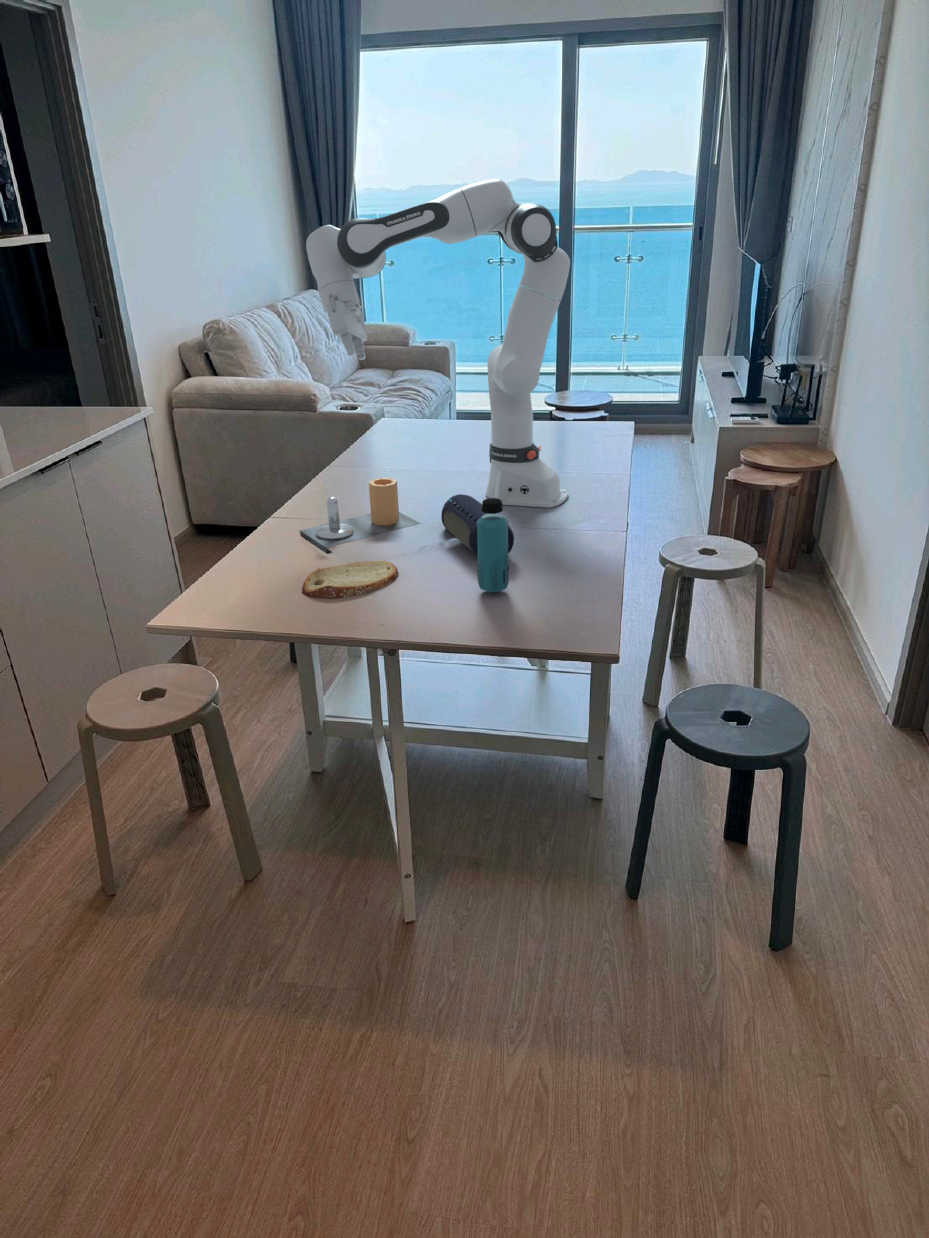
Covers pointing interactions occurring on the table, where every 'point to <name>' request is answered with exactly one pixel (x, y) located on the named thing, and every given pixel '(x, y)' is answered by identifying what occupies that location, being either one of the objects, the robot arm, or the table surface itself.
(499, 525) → the beverage bottle
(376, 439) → the table surface
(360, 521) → the board
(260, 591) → the table surface
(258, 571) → the table surface
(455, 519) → the portable speaker
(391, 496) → the sleeve
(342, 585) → the slice of bread
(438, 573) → the table surface
